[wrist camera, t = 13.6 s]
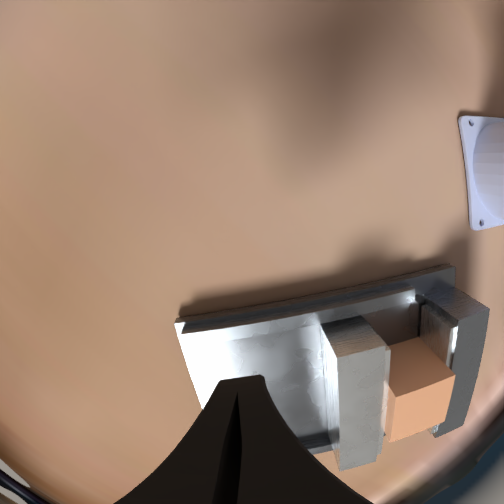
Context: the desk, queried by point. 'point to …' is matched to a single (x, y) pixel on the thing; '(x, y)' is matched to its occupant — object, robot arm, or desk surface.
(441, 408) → the block
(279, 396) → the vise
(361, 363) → the moving jaw
